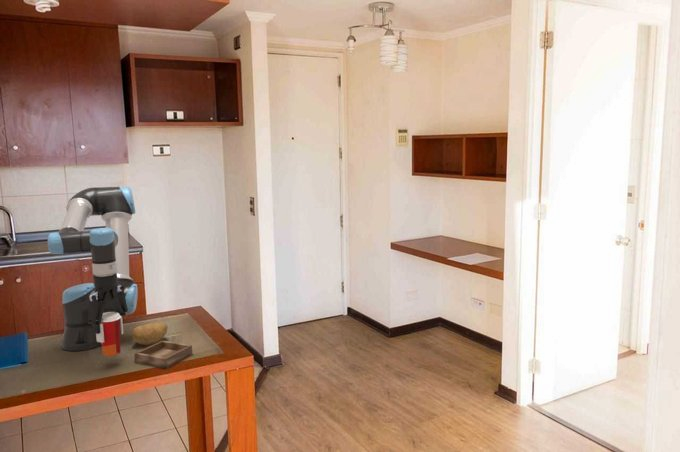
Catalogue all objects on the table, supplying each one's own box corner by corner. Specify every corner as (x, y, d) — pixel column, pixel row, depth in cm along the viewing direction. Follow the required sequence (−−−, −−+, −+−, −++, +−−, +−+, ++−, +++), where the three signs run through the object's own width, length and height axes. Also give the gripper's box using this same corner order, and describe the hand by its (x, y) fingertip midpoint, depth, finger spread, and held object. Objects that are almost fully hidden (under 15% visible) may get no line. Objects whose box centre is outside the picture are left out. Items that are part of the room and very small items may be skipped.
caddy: (135, 362, 193) (134, 353, 192) (162, 349, 206) (162, 340, 205) (165, 368, 187) (165, 359, 187) (192, 354, 200) (192, 345, 199)
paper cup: (115, 347, 195) (112, 309, 193) (128, 352, 191) (125, 313, 189) (95, 354, 189) (91, 315, 187) (107, 359, 185) (104, 320, 182)
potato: (174, 341, 214) (172, 321, 213) (140, 351, 204) (138, 330, 203) (161, 335, 221) (160, 316, 220) (128, 345, 211) (126, 325, 209)
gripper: (88, 282, 175) (93, 349, 178) (136, 268, 193) (140, 329, 197) (71, 280, 178) (77, 346, 181) (120, 266, 196) (124, 326, 200)
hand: (110, 337), depth 189 cm, fingers closed on paper cup, 8 cm apart
